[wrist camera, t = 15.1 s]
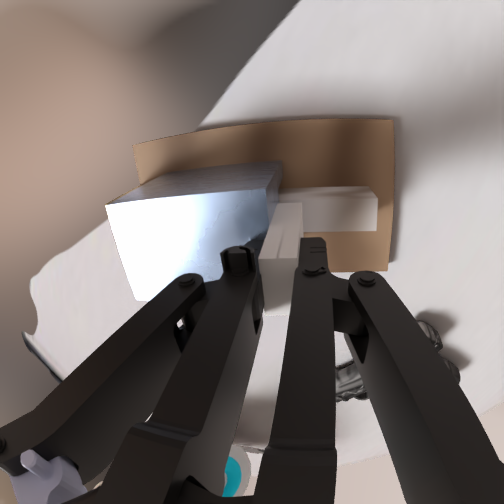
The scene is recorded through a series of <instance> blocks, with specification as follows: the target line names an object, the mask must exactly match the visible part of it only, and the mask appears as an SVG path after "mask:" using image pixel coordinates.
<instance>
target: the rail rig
mask: <svg viewBox="0 0 504 504" xmlns="http://www.w3.org/2000/svg"><path fill="white" fill-rule="evenodd" d="M133 151H134V156H135V161H136V167H137V171H138V176H139V181H140V186H142V185H144V184H146V183H148V182H150V181H151V180H153V179H155V178H157V177H159V176H161V175H163V174H165V173H168V172H174V171H181V170H188V169H196V168H203V167H212V166H221V165H230V164H240V163H251V162H264V161H278V160H282V168H283V178H282V181H281V183H280V186H279V189H278V193H279V203H299V202H302V214H303V233H304V237H322V238H323V239H324V240H325V241H326V248H327V258H328V268H329V270H330V272H358V271H365V270H367V271H387V270H388V262H389V253H390V244H391V233H392V221H393V204H394V175H395V151H394V122H393V120H386V119H305V120H288V121H275V122H264V123H254V124H245V125H237V126H229V127H222V128H215V129H209V130H203V131H197V132H191V133H186V134H180V135H175V136H170V137H166V138H161V139H156V140H152V141H148V142H144V143H140V144H136V145H133ZM140 186H138V187H140ZM138 187H136V188H138ZM136 188H134V189H136ZM134 189H132V190H130V191H128V192H127V193H129V192H131V191H133V190H134ZM127 193H125V194H127ZM125 194H123V195H121V196H119V197H118V198H120V197H122V196H124V195H125ZM118 198H116V199H118ZM116 199H114V200H112V201H110V202H109V203H111V202H113V201H115V200H116ZM109 203H107V204H105V207H106V205H108V204H109ZM106 211H107V208H106ZM107 214H108V212H107ZM108 218H109V216H108ZM109 221H110V219H109ZM110 225H111V223H110ZM111 228H112V226H111ZM112 232H113V230H112ZM113 235H114V233H113ZM114 238H115V236H114ZM115 242H116V240H115ZM116 245H117V243H116ZM117 248H118V246H117ZM118 251H119V249H118ZM119 254H120V252H119ZM120 257H121V255H120ZM121 260H122V258H121ZM122 263H123V261H122ZM123 266H124V264H123Z"/></svg>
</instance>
